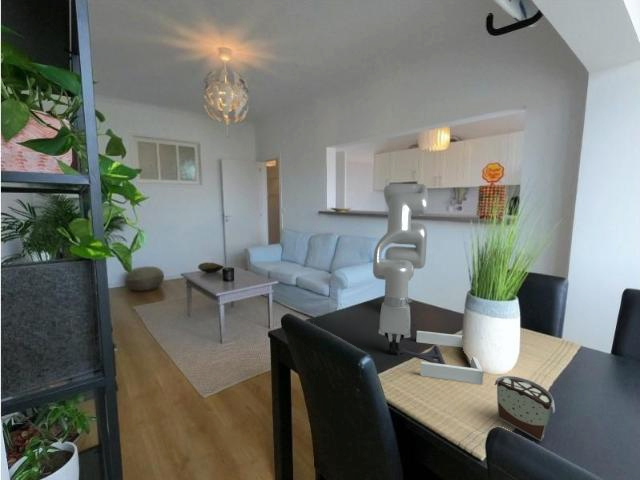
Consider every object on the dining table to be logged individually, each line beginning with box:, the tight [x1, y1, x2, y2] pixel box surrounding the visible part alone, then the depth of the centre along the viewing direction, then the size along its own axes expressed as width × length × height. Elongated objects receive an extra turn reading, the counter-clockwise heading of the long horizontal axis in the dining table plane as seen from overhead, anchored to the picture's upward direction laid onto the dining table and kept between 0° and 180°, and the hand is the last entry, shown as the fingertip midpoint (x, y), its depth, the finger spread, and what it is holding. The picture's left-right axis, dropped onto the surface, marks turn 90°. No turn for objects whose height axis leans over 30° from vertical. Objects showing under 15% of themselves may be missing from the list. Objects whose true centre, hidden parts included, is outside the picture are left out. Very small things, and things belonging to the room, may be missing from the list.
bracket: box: [396, 344, 446, 365], centre depth 104 cm, size 14×15×3 cm
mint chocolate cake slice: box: [494, 375, 556, 443], centre depth 73 cm, size 12×6×10 cm, turn 35°
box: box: [416, 330, 484, 385], centre depth 102 cm, size 23×17×4 cm
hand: (393, 351), depth 106 cm, fingers closed
